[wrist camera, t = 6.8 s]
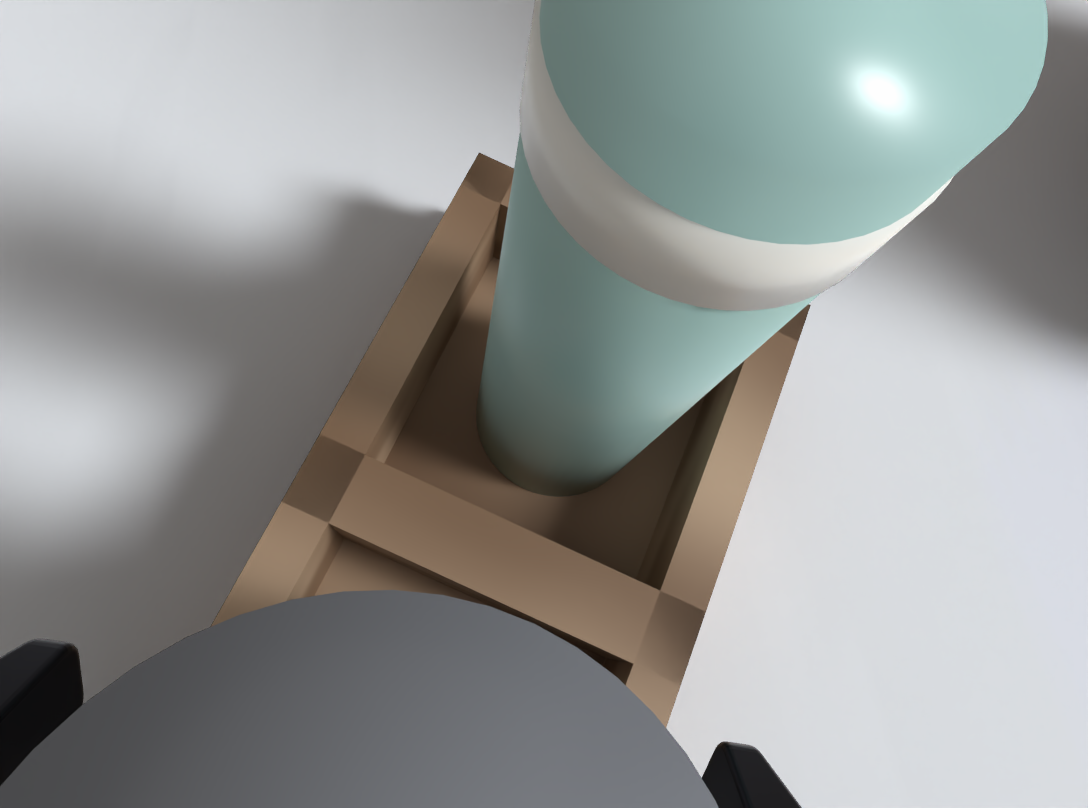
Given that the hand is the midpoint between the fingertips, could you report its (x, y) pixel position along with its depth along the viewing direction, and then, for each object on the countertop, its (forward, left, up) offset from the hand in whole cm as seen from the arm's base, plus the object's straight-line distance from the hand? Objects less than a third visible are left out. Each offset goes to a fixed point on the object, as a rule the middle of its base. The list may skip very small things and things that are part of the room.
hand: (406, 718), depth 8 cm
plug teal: (+7, 0, -8) cm, 10 cm away
